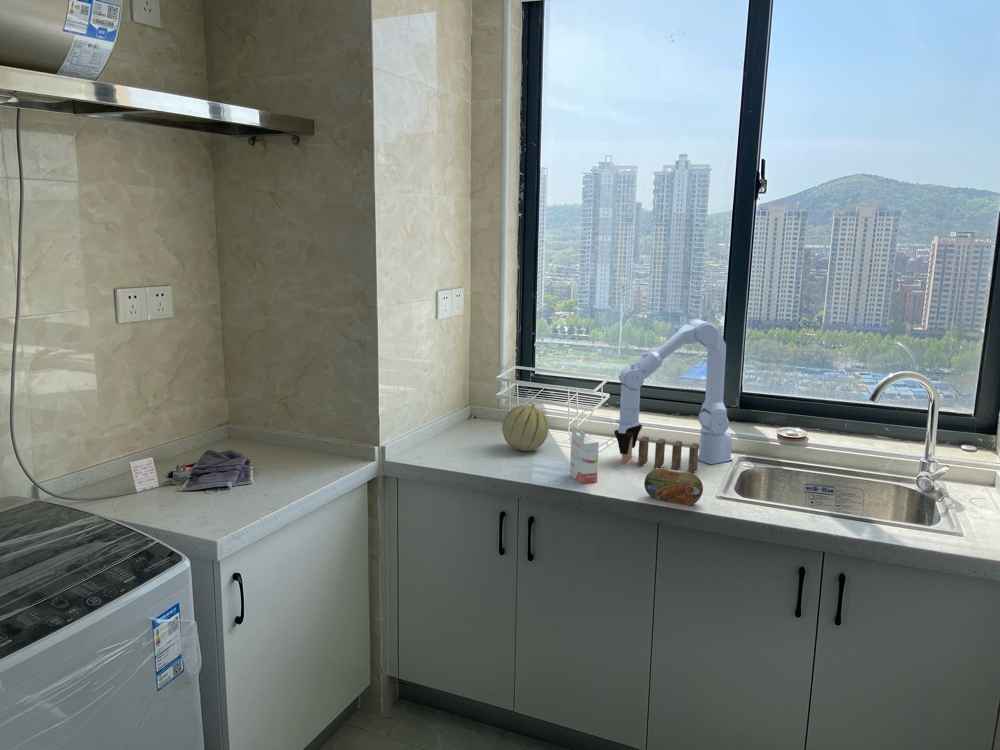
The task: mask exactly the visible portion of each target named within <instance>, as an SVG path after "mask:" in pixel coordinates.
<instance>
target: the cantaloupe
mask: <svg viewBox="0 0 1000 750" xmlns="http://www.w3.org/2000/svg"><path fill="white" fill-rule="evenodd" d="M535 406H536V405H535V403H532V404H531V405H527V404H526V405H525V404H521V405H520V404H519V405H517V406H514V407H513V408H511V409H510V410H509V411H508V412H507V413H506V414H505V416H504V419H503V420H502V428H501V429H502V434H503V438H504V441H505V442H506V443H507V444H508V445H509V446H511V447H512V448H514V449H516V450H518V451H523V452H530V451H534V450H537V449H539V448H540V447H541V446H542V445H543V444H544V442H546V440H547V438H548V434H549V429H550V428H549V422H548V419H547V417H546V415H545V414H544V413H543V411H541V410H540V409H538V408H537V407H535Z"/></svg>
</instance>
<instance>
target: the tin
mask: <svg viewBox="0 0 1000 750" xmlns="http://www.w3.org/2000/svg"><path fill="white" fill-rule="evenodd" d="M644 489H645V491H646V494H647V495H649V497H651V498H652V499H653V500H656V501H660V502H666V503H672V504H676V505H677V504H678V505H683V506H691V505H694V504H696V503H697V502H698V501H699V500H700V499H701V497H702V495H703V493H704V486H703V483H702V480H701V478H699V477H698V475H696V474H695V473H694V474H693V473H690V472H688V471H684V470H683V471H682V470H678V471H676V470H671V468H670V469H669V468H663V467H661V468H658V469H655V468H654V469H653V470H650V471H649V472H648V473H647V474H646V476H645V478H644Z"/></svg>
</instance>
